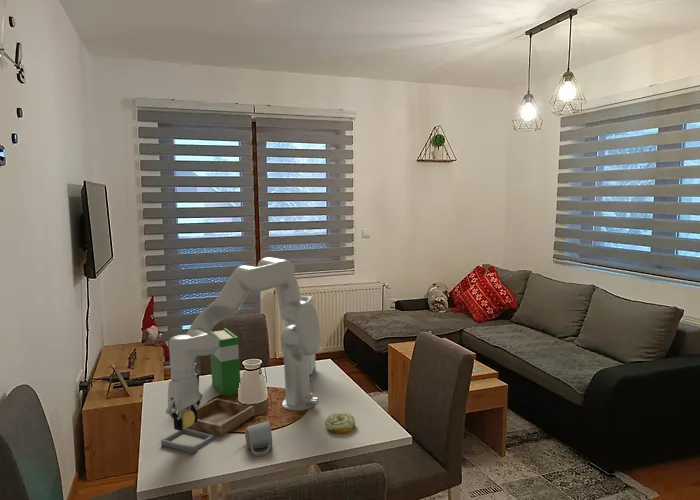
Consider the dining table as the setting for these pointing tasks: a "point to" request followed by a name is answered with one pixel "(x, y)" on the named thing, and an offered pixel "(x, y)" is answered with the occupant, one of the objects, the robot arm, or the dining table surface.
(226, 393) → the hardback book
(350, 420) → the decorated donut
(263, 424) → the ceramic mug
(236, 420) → the walnut box
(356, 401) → the dining table surface
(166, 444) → the dish
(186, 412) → the ball
